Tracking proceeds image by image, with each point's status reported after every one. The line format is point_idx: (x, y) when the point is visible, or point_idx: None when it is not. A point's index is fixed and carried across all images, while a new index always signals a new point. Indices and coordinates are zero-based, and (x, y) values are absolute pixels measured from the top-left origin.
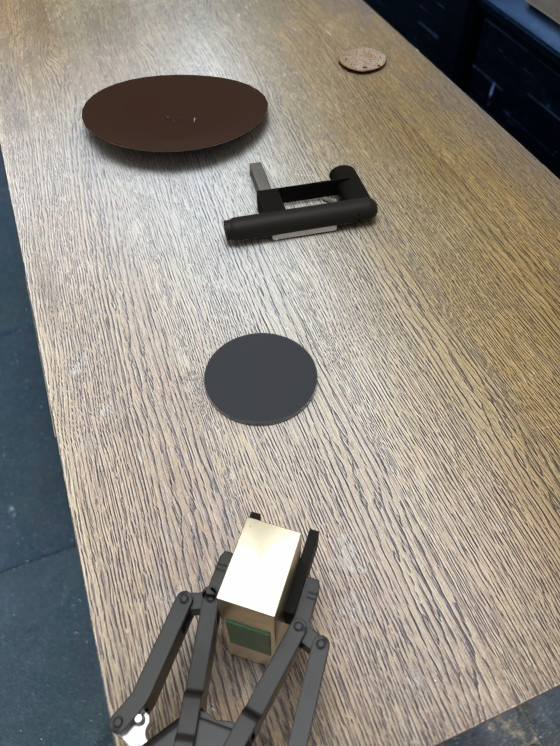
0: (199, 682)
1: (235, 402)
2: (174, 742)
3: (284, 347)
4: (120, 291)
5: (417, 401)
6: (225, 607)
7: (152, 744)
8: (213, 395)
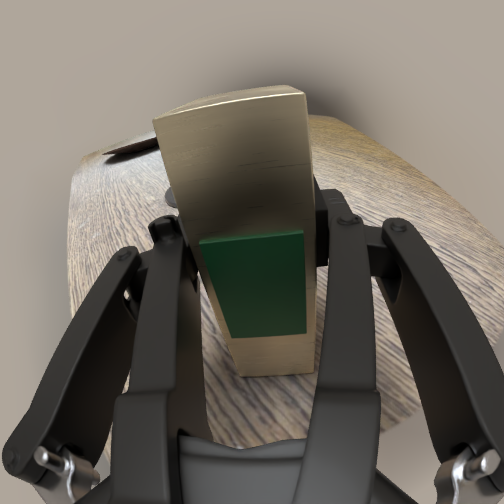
0: (161, 370)
1: None
2: None
3: None
4: (112, 190)
5: (326, 168)
6: (181, 157)
7: None
8: (172, 200)
